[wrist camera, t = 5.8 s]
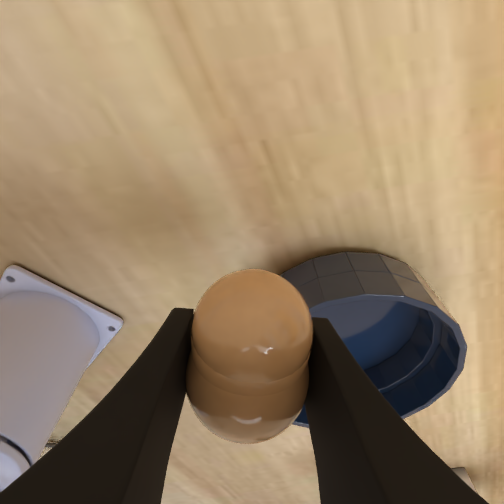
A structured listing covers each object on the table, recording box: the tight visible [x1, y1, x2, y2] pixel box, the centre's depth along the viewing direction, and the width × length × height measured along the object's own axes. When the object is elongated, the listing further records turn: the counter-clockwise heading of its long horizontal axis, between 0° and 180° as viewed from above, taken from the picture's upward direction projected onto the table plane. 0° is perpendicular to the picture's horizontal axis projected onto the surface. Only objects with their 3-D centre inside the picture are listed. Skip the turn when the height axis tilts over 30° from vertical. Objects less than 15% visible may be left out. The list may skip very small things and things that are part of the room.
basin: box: [280, 252, 467, 428], centre depth 21 cm, size 13×13×4 cm
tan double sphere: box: [185, 269, 314, 444], centre depth 10 cm, size 6×4×4 cm
